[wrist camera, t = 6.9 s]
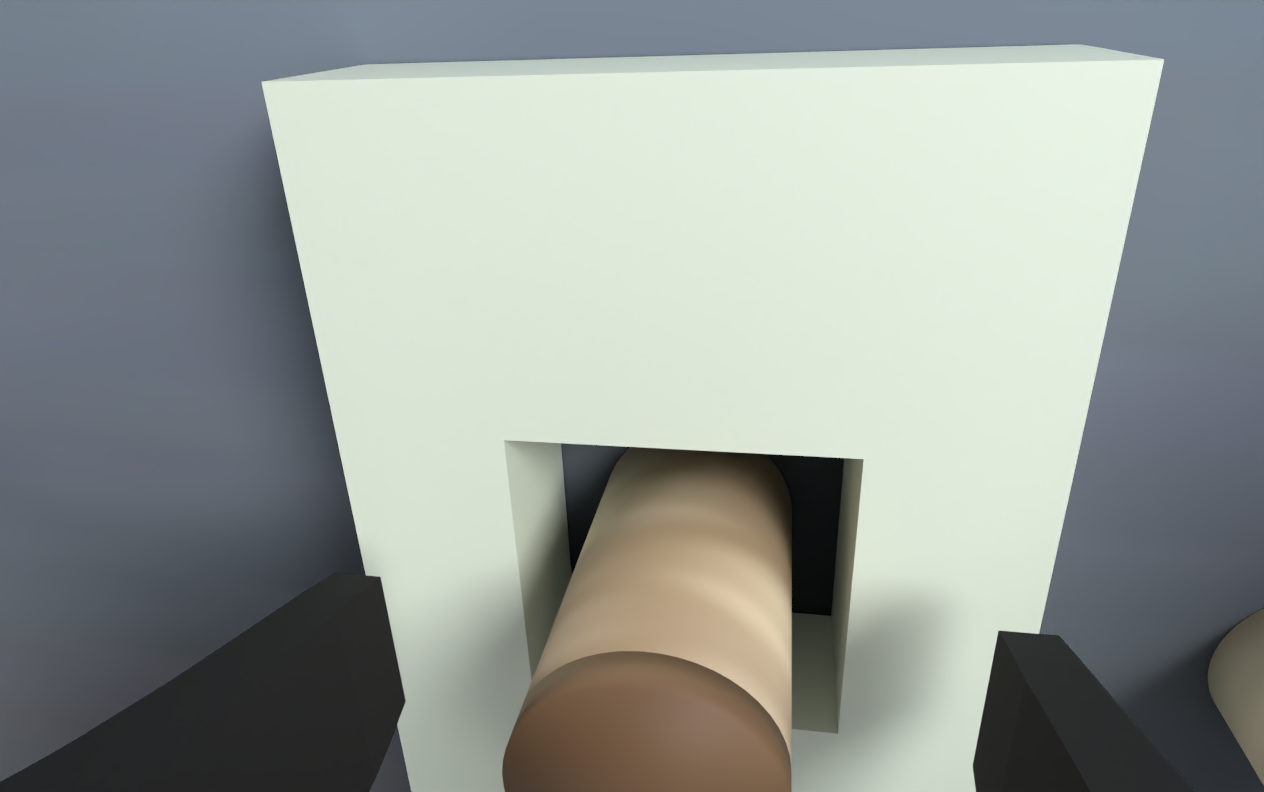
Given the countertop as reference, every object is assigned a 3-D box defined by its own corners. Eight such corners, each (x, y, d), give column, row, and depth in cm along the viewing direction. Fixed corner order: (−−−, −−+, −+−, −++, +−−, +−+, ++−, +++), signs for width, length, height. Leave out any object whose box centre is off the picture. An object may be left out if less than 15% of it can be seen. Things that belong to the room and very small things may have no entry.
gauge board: (1081, 44, 10) (1164, 59, 8) (944, 812, 15) (969, 950, 13) (365, 64, 11) (262, 82, 9) (476, 756, 17) (428, 871, 15)
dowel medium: (814, 451, 13) (826, 734, 8) (766, 602, 14) (751, 926, 9) (622, 406, 13) (517, 655, 8) (593, 560, 14) (489, 852, 9)
